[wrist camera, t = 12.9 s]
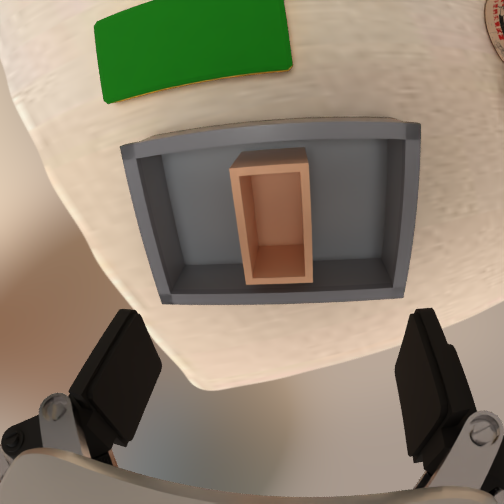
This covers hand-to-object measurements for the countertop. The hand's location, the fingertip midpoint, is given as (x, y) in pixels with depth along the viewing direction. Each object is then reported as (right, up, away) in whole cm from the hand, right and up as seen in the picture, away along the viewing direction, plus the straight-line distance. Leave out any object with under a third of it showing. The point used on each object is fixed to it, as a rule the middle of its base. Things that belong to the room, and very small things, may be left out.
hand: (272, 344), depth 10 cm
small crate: (+1, +7, +13) cm, 15 cm away
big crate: (+1, +7, +14) cm, 16 cm away
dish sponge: (-5, +19, +9) cm, 21 cm away
